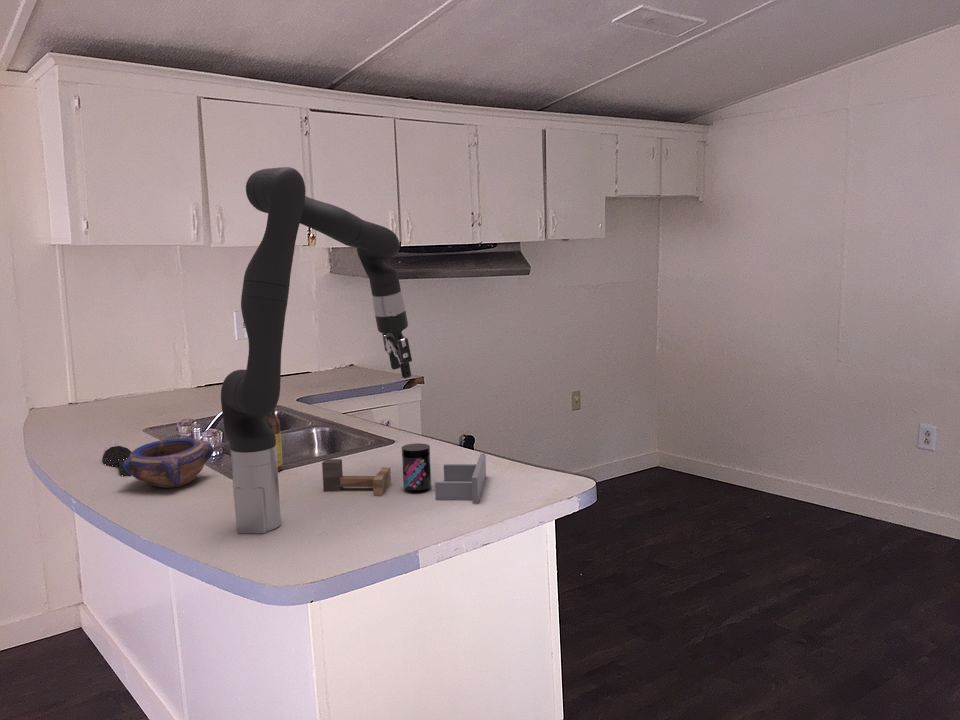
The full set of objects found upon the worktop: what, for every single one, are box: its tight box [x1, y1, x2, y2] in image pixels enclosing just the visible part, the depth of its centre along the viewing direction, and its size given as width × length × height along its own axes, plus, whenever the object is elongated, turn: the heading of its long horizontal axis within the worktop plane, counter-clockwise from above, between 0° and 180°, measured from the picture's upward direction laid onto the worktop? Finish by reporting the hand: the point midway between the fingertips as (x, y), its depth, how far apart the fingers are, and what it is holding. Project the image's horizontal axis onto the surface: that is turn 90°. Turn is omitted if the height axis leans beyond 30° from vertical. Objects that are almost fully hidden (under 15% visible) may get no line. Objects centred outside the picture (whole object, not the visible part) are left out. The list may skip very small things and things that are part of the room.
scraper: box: [321, 458, 392, 497], centre depth 193 cm, size 10×15×7 cm, turn 84°
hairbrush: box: [102, 443, 132, 477], centre depth 220 cm, size 8×4×25 cm
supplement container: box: [401, 442, 432, 494], centre depth 191 cm, size 7×7×10 cm
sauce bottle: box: [264, 409, 284, 472], centre depth 210 cm, size 6×6×20 cm
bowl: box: [123, 437, 215, 489], centre depth 202 cm, size 18×18×10 cm
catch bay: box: [434, 453, 487, 504], centre depth 191 cm, size 20×10×6 cm, turn 174°
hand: (401, 372), depth 202 cm, fingers open, 8 cm apart
